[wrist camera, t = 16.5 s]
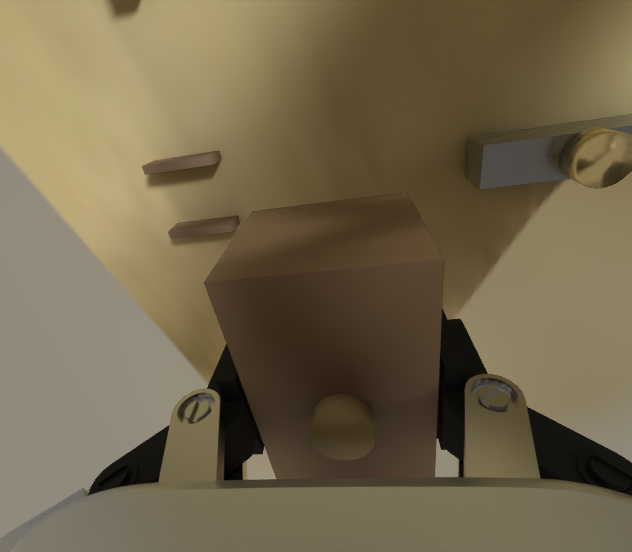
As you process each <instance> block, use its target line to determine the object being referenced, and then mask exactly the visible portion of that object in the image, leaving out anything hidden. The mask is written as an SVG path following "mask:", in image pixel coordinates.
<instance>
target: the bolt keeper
mask: <svg viewBox="0 0 632 552" xmlns="http://www.w3.org/2000/svg"><path fill="white" fill-rule="evenodd" d="M220 160H221V155H220V152H219V151H214V152H208V153H201V154H195V155H188V156H181V157H175V158H168V159H162V160H155V161H152V162H150V163H148V164H146V165H143V166H142V168H143V171H144V173H145V175H146V174H153V173H160V172H167V171H174V170H181V169H187V168H194V167H201V166H208V165H214V164H215V163H217V162H218V161H220ZM239 223H240V222H239V219H238V216H232V217H224V218H216V219H208V220H199V221H191V222H183V223H177V224H176V225H175V226H174V227H173V228H172V229H171V230H170V231H168V233H169V235H170V238H171V239H172V238H181V237H190V236H199V235H207V234H216V233H225V232H233V231H234V230H235V229H236V227H237V226H238V224H239Z"/></svg>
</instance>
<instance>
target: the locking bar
mask: <svg viewBox="0 0 632 552" xmlns="http://www.w3.org/2000/svg"><path fill="white" fill-rule="evenodd" d="M631 171H632V114H631V115H624V116H617V117H610V118H603V119H596V120H589V121H582V122H575V123H568V124H561V125H554V126H547V127H539V128H532V129H525V130H518V131H511V132H504V133H497V134H490V135H483V136H476V137H469V138H468V150H467V164H466V178H467V179H468V180H469V181H470V182H471V183H473V184H474V185H475V186H476V187H477V188H478V189H479V190H481V189H490V188H498V187H506V186H515V185H523V184H531V183H540V182H548V181H556V180H565V179H572V180H574V181H576V182H578V183H581V184H583V185H585V186H587V187H590V188H604V187H608V186H611V185H613V184H615V183H617V182H618V181H620V180H622V179H623V178H624V177H625V176H626V175H627V174H629V173H630V172H631Z"/></svg>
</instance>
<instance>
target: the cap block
mask: <svg viewBox="0 0 632 552" xmlns="http://www.w3.org/2000/svg"><path fill="white" fill-rule="evenodd" d="M443 273H444V258H443V256H442V254H441V252H440V251H439V249H438V247H437V245H436V244H435V242H434V240H433V238H432V236H431V235H430V233H429V231H428V229H427V227H426V226H425V224H424V222H423V220H422V219H421V217H420V215H419V213H418V211H417V210H416V208H415V206H414V204H413V202H412V201H411V199H410V197H409V195H408V193H407V192H404V193H396V194H388V195H380V196H372V197H364V198H356V199H348V200H340V201H332V202H324V203H316V204H308V205H301V206H293V207H285V208H277V209H269V210H261V211H253V212H252V213H251V214H250V216H249V217H248V219H247V220H246V222H245V223H244V225H243V226H242V228H241V229H240V230H239V232H238V233H237V235H236V236H235V238H234V239H233V241H232V242H231V244H230V245H229V247H228V248H227V250H226V251H225V252H224V254H223V255H222V257H221V258H220V260H219V261H218V263H217V264H216V266H215V267H214V269H213V270H212V272H211V273H210V275H209V276H208V277H207V279H206V280H205V282H204V283H205V286H206V289H207V292H208V294H209V297H210V300H211V302H212V305H213V308H214V311H215V313H216V316H217V319H218V321H219V324H220V327H221V329H222V332H223V335H224V338H225V340H226V343H227V346H228V348H229V351H230V354H231V357H232V359H233V362H234V365H235V367H236V370H237V373H238V376H239V378H240V381H241V384H242V386H243V389H244V392H245V394H246V397H247V400H248V403H249V405H250V408H251V411H252V413H253V416H254V419H255V422H256V424H257V427H258V430H259V432H260V435H261V438H262V441H263V443H264V446H265V449H266V451H267V454H268V457H269V459H270V462H271V465H272V467H273V470H274V473H275V476H276V478H277V479H338V478H434V477H435V462H436V438H437V415H438V391H439V367H440V344H441V320H442V297H443Z"/></svg>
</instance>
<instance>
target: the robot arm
mask: <svg viewBox="0 0 632 552" xmlns="http://www.w3.org/2000/svg"><path fill="white" fill-rule="evenodd" d="M437 438H438V439H439V443H440V447H441V449H442V450H447V451H448V452H450V453H451V454H452V455H454V456H455V457H457V458H458V477H437V478H436V477H434V478H338V479H272V480H247V462H246V460H248V459H249V458H250V457H251V456H252V454H263V450H264V443H263V441H262V438H261V435H260V432H259V430H258V427H257V424H256V422H255V419H254V416H253V413H252V411H251V408H250V405H249V403H248V400H247V397H246V394H245V392H244V389H243V386H242V384H241V381H240V378H239V376H238V373H237V370H236V367H235V365H234V362H233V359H232V357H231V354H230V351H229V348H228V346H227V344H226V346H225V349H224V351H223V353H222V355H221V358H220V360H219V362H218V365H217V367H216V369H215V371H214V374H213V376H212V378H211V380H210V383H209V385H208V387H207V389H200V390H196V391H193V392H191V393H189V394H188V395H186V396H185V397H183V398H182V399H181V400H180V401H179V402H178V403H177V405H176V406H175V408H174V410H173V413H172V417H171V421H170V425H169V426H167V427H166V428H164V429H163V430H161V431H160V432H158V433H157V434H155V435H154V436H152V437H151V438H149V439H148V440H146V441H145V442H143V443H142V444H140V445H139V446H137V447H136V448H135V449H133V450H132V451H130V452H129V453H127V454H126V455H124V456H123V457H121V458H120V459H118V460H117V461H115V462H114V463H112V464H111V465H109V466H108V467H107V468H106V469H104V470H103V471H102V473H100V475H99V476H98V477H97V478H96V479H95V481H94V483H93V484H92V486H91V488H90V489H89V490H88V491H86V490H85V489H84V488H82V489H81V490H79V491H78V492H76V493H74V494H72V495H71V496H69V497H67V498H66V499H64V500H62V501H61V502H59V503H57V504H56V505H54V506H52V507H51V508H49V509H47V510H46V511H44V512H42V513H40V514H39V515H37V516H35V517H34V518H32V519H30V520H29V521H27V522H25V523H24V524H22V525H20V526H19V527H17V528H15V529H14V530H12V531H10V532H9V533H7V534H6V535H4V536H3V537H2V538H0V552H632V463H631V462H630V461H629V460H626V459H625V458H624V457H622V456H620V455H619V454H617V453H615V452H613V451H611V450H610V449H608V448H606V447H604V446H602V445H600V444H598V443H596V442H594V441H592V440H590V439H588V438H586V437H585V436H583V435H581V434H579V433H577V432H575V431H573V430H571V429H569V428H567V427H565V426H563V425H561V424H559V423H557V422H556V421H554V420H552V419H550V418H548V417H546V416H544V415H542V414H540V413H538V412H536V411H534V410H532V409H530V408H528V407H527V405H526V400H525V397H524V394H523V392H522V391H521V390H520V388H519V387H518V386H517V385H515V384H514V383H513V382H512V381H510V380H508V379H506V378H504V377H502V376H498V375H494V374H488V373H487V371H486V369H485V367H484V365H483V363H482V361H481V359H480V357H479V355H478V353H477V351H476V349H475V347H474V345H473V343H472V341H471V338H470V336H469V334H468V332H467V330H466V328H465V326H464V324H463V322H462V321H461V320H460V319H450V320H447V318H446V316H445V313H444V311H443V309H442V320H441V344H440V367H439V391H438V415H437ZM437 438H436V439H437Z"/></svg>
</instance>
